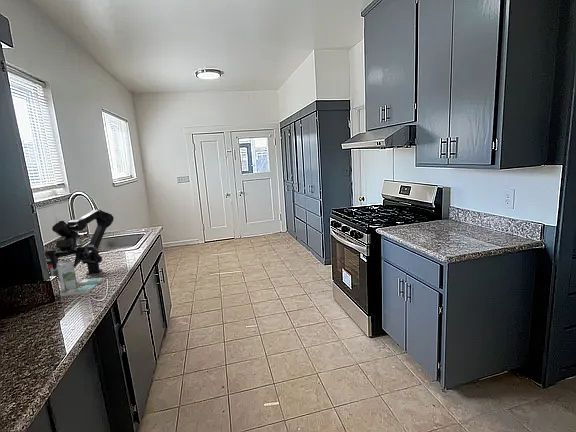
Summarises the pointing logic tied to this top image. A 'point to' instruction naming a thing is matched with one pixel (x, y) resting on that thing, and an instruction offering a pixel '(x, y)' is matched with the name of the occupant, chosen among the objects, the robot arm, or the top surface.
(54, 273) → the supplement bottle
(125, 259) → the top surface
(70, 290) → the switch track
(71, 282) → the syrup box
